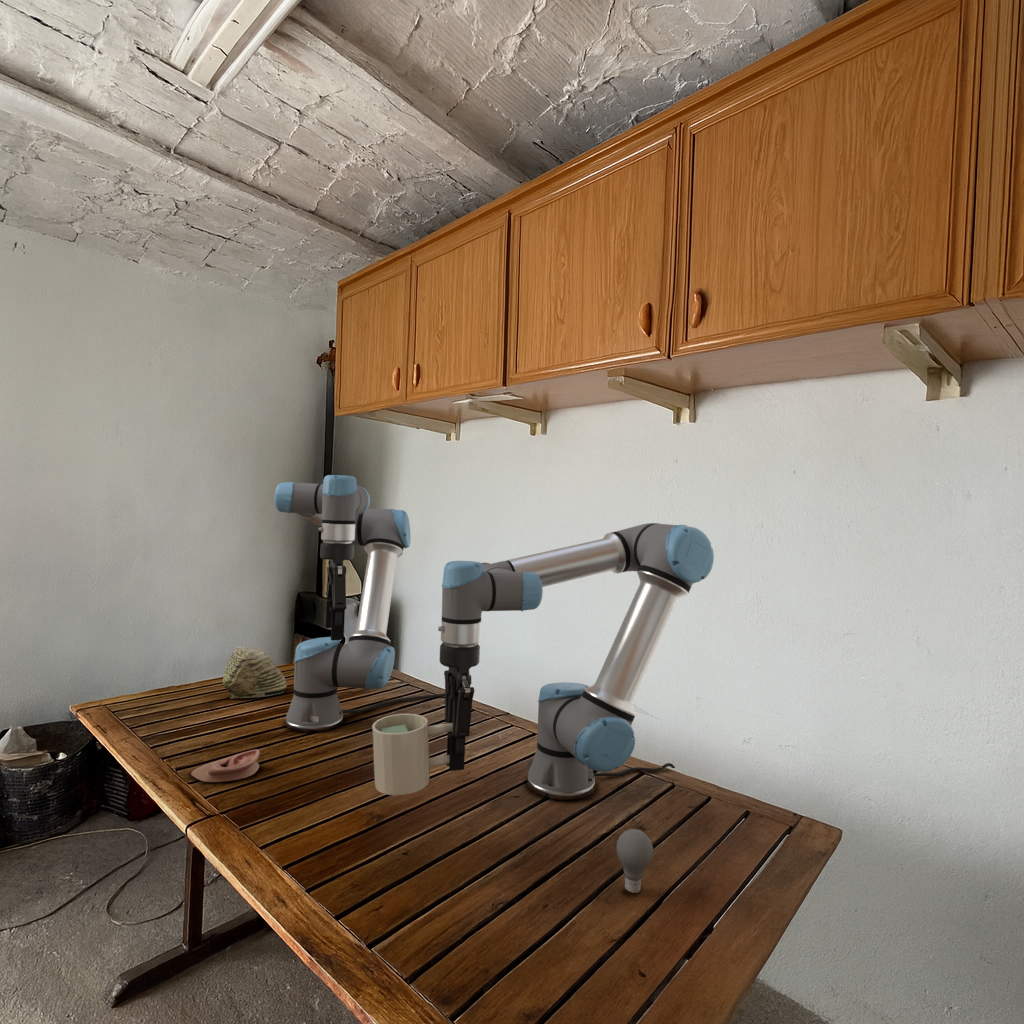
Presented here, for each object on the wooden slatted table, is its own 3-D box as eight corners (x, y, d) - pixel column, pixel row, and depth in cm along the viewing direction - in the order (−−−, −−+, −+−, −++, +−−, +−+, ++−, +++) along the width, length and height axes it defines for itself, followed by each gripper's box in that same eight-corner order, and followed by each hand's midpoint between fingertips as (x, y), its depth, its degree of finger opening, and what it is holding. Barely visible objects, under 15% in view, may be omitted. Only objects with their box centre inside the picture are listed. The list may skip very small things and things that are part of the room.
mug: (378, 799, 110) (376, 737, 110) (371, 775, 120) (369, 718, 119) (468, 782, 116) (466, 723, 115) (455, 760, 125) (453, 705, 125)
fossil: (218, 695, 195) (220, 647, 195) (278, 685, 208) (279, 640, 207) (228, 703, 189) (230, 653, 188) (289, 692, 201) (290, 645, 201)
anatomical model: (182, 760, 139) (216, 741, 150) (181, 778, 139) (216, 758, 150) (236, 768, 136) (267, 748, 147) (235, 786, 136) (266, 765, 147)
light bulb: (610, 879, 108) (613, 822, 108) (644, 879, 109) (647, 822, 109) (619, 902, 102) (622, 840, 102) (655, 901, 103) (658, 840, 103)
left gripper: (316, 537, 157) (313, 623, 157) (325, 546, 133) (321, 646, 134) (347, 538, 159) (344, 622, 160) (361, 546, 136) (358, 645, 136)
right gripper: (432, 635, 125) (427, 753, 126) (450, 653, 111) (444, 786, 112) (468, 634, 128) (464, 750, 128) (490, 651, 114) (485, 781, 114)
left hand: (334, 633), depth 147 cm, fingers open, 13 cm apart
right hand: (455, 766), depth 120 cm, fingers closed on mug, 2 cm apart
